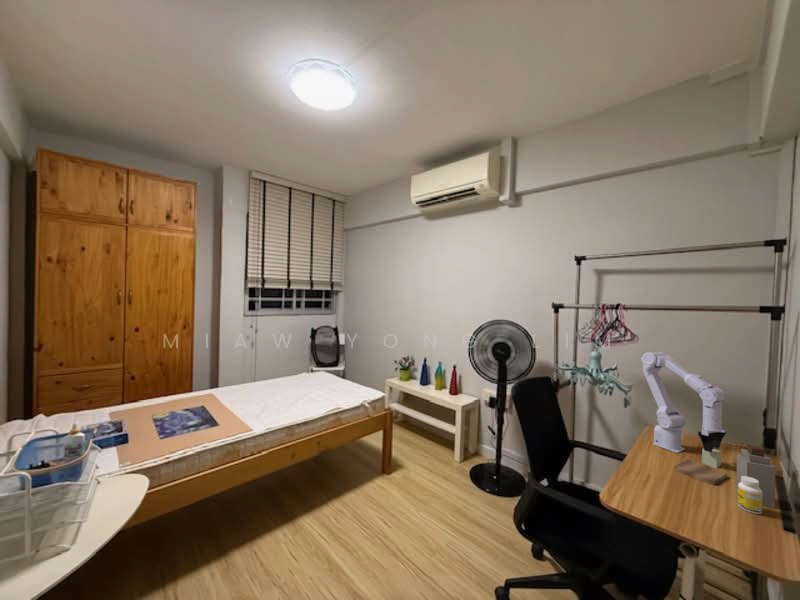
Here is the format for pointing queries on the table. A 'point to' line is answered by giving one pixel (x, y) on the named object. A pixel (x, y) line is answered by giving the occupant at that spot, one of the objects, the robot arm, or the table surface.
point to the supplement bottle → (750, 495)
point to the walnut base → (701, 472)
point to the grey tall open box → (758, 472)
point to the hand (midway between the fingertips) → (711, 449)
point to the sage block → (711, 458)
